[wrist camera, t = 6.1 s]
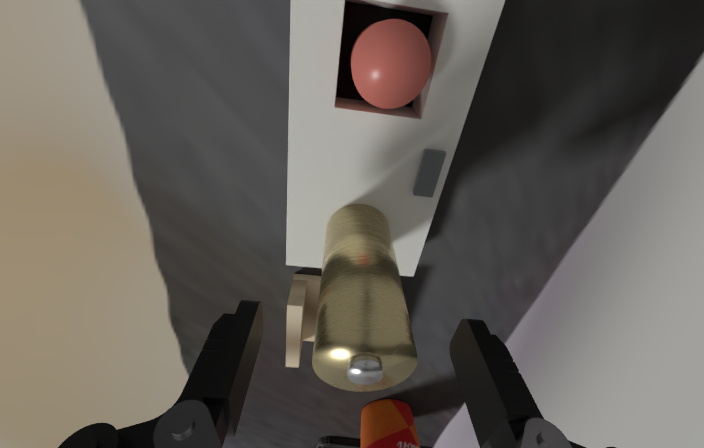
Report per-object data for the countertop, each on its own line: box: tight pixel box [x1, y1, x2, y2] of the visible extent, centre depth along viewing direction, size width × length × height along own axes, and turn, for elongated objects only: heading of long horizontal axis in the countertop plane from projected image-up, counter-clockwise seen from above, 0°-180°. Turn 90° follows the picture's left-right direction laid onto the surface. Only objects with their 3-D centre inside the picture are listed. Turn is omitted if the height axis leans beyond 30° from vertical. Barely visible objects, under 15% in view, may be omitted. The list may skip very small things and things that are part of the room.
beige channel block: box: [286, 274, 321, 367], centre depth 23 cm, size 7×8×3 cm
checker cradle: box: [286, 0, 505, 277], centre depth 16 cm, size 14×8×3 cm, turn 172°
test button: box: [351, 19, 431, 109], centre depth 13 cm, size 3×3×4 cm
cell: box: [312, 204, 417, 392], centre depth 13 cm, size 4×4×8 cm
